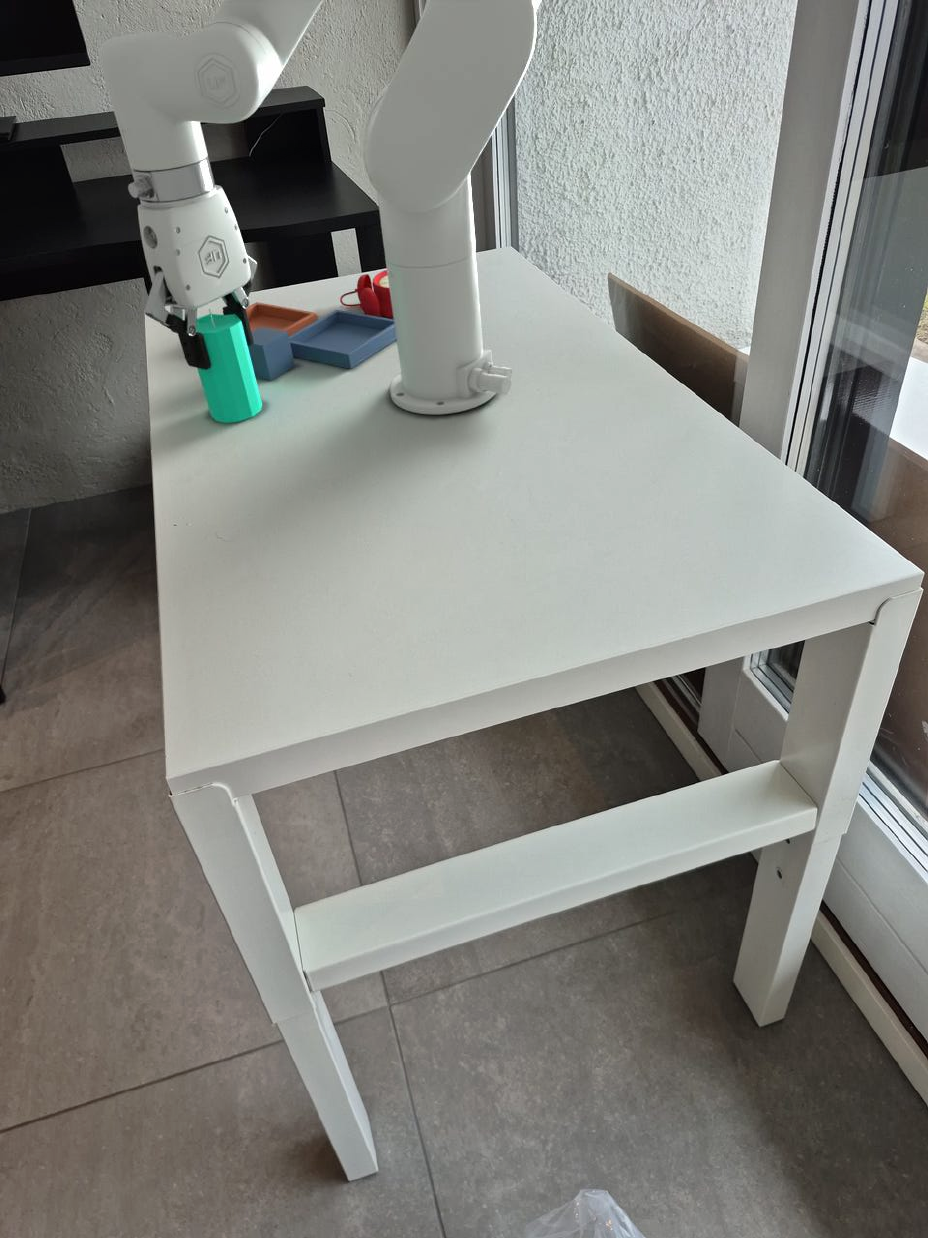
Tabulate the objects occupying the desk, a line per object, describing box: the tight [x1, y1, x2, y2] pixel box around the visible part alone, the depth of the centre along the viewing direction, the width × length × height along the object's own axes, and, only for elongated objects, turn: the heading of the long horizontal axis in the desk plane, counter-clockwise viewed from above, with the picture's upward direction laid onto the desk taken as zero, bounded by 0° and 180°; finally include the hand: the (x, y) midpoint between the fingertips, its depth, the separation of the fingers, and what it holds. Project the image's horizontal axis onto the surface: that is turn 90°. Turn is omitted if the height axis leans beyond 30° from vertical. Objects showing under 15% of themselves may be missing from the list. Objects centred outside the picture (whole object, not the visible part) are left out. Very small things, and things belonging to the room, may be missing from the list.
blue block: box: [248, 327, 296, 382], centre depth 112 cm, size 4×4×4 cm
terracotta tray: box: [246, 302, 319, 337], centre depth 122 cm, size 11×11×2 cm
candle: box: [196, 308, 263, 424], centre depth 101 cm, size 6×6×12 cm
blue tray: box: [289, 309, 397, 370], centre depth 117 cm, size 11×11×2 cm
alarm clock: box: [339, 269, 394, 319], centre depth 124 cm, size 10×6×15 cm
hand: (221, 353), depth 101 cm, fingers closed on candle, 6 cm apart
